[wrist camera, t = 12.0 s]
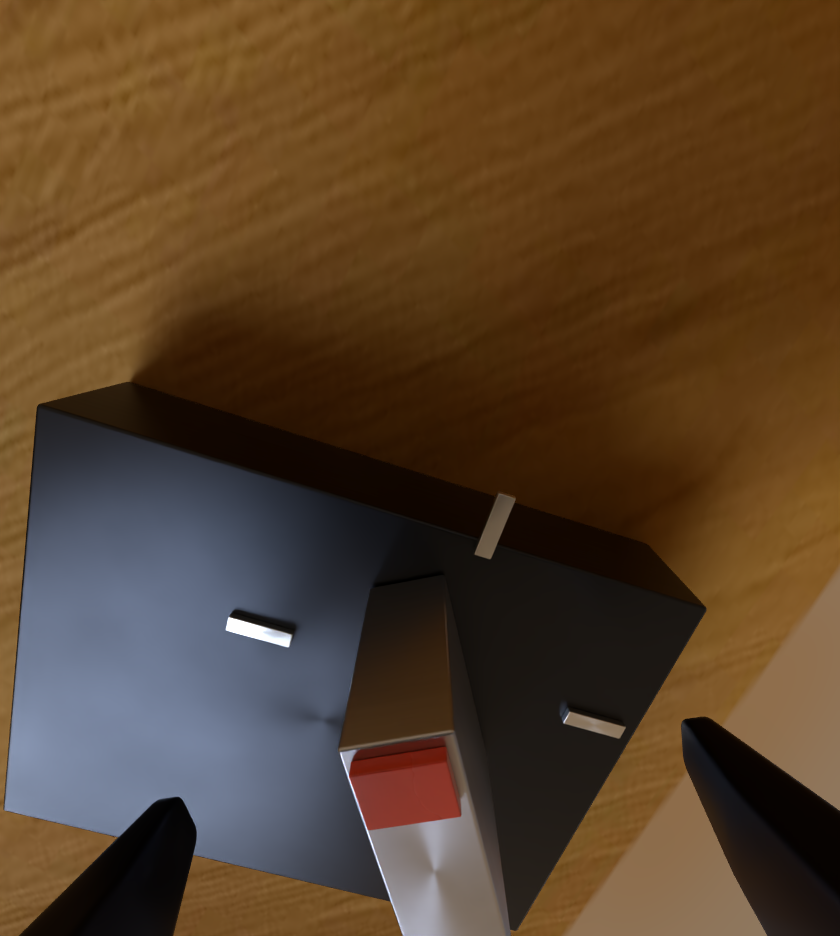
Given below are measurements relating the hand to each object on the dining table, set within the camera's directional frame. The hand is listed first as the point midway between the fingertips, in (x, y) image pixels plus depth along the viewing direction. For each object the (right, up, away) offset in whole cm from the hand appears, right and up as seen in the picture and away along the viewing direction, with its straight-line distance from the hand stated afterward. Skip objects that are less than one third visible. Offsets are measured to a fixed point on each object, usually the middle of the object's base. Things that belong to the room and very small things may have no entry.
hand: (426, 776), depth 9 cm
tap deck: (-2, 0, +6) cm, 6 cm away
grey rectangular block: (0, +1, +2) cm, 2 cm away
